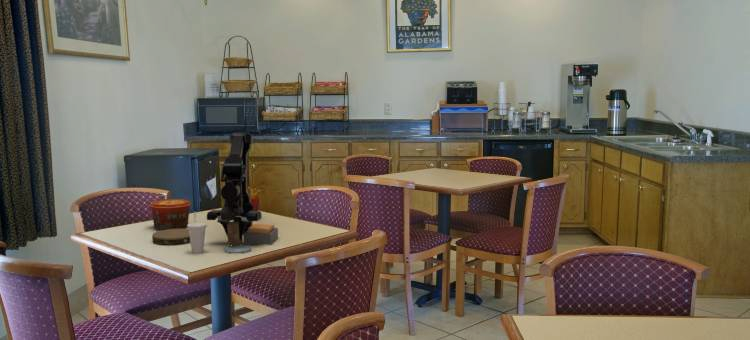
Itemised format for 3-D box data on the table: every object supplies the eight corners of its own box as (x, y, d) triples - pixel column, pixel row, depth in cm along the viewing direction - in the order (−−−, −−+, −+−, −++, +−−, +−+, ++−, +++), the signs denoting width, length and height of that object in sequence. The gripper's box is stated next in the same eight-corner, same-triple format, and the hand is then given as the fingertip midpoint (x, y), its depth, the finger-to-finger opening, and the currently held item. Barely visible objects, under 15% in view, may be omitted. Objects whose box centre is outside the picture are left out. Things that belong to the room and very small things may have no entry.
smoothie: (190, 249, 203) (189, 210, 202) (209, 249, 204) (207, 210, 202) (186, 254, 197) (184, 214, 195) (205, 254, 198) (204, 213, 196)
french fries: (246, 218, 258) (246, 184, 256) (263, 219, 255) (262, 185, 254) (235, 221, 250) (234, 187, 248) (252, 223, 247) (251, 188, 245)
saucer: (221, 253, 199) (220, 250, 199) (230, 246, 208) (230, 244, 208) (246, 254, 198) (246, 251, 198) (254, 247, 207) (254, 245, 207)
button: (247, 232, 213) (247, 228, 212) (254, 228, 220) (254, 224, 220) (268, 233, 212) (268, 229, 212) (273, 228, 219) (273, 224, 219)
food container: (194, 230, 234) (193, 203, 233) (152, 233, 227) (151, 206, 226) (188, 222, 248) (187, 197, 247) (148, 225, 241) (147, 200, 240)
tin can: (196, 234, 227) (196, 227, 227) (198, 244, 212) (198, 236, 212) (153, 237, 222) (153, 230, 221) (151, 247, 207) (151, 239, 206)
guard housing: (243, 243, 212) (243, 233, 212) (252, 237, 222) (252, 227, 221) (270, 244, 211) (270, 234, 210) (278, 238, 221) (277, 228, 220)
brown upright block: (228, 245, 210) (227, 223, 209) (231, 242, 214) (231, 221, 213) (238, 245, 209) (238, 224, 208) (242, 243, 213) (241, 221, 212)
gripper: (199, 199, 202) (201, 243, 204) (252, 200, 200) (252, 244, 202) (212, 194, 213) (213, 236, 215) (261, 195, 211) (262, 237, 213)
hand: (234, 238), depth 211 cm, fingers closed on brown upright block, 4 cm apart
